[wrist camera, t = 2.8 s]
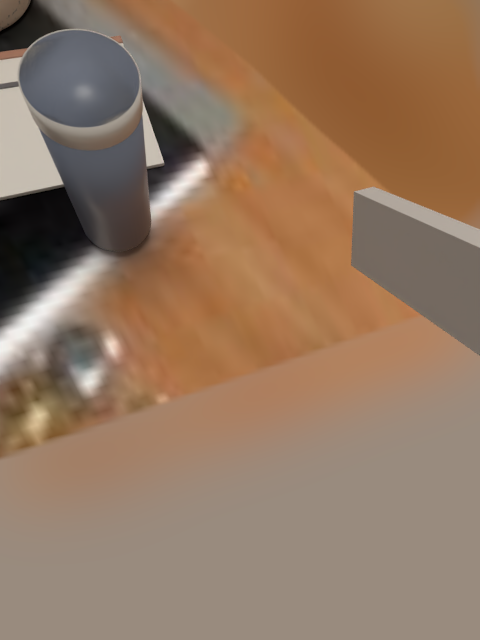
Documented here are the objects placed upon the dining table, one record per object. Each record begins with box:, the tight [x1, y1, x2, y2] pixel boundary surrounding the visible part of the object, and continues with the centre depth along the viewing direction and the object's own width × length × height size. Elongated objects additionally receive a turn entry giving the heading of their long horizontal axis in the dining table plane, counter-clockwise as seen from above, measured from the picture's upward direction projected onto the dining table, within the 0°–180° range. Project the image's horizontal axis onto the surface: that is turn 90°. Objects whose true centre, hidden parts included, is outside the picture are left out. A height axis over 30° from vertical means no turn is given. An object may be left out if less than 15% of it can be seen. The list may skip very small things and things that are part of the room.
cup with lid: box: [18, 29, 151, 252], centre depth 20 cm, size 4×4×12 cm
